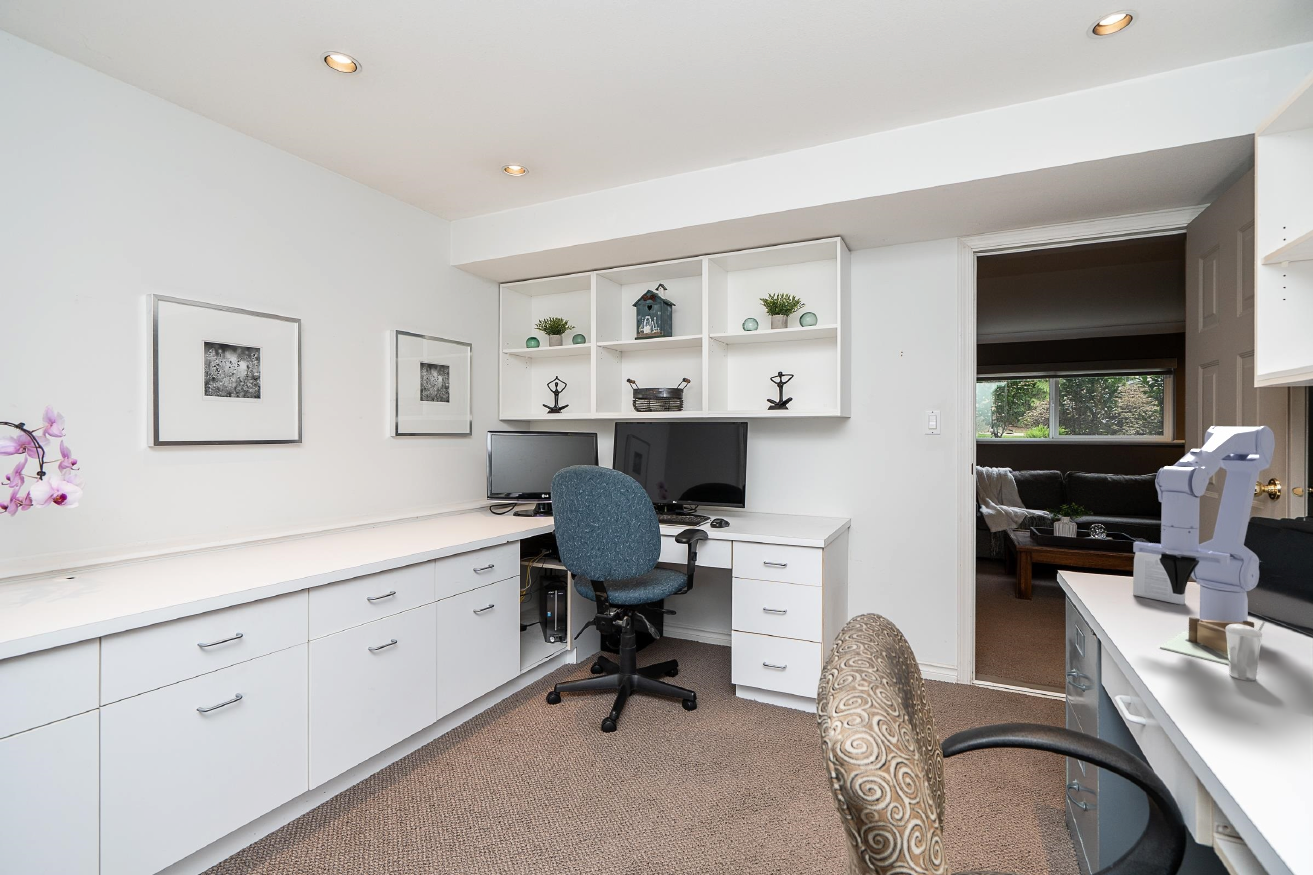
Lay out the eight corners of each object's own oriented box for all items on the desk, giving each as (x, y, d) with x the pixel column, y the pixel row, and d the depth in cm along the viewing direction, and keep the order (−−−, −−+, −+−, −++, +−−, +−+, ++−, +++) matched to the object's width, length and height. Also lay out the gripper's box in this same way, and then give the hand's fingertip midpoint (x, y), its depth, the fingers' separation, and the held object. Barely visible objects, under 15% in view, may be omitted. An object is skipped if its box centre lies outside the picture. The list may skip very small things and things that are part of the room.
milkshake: (1274, 684, 100) (1275, 625, 100) (1237, 681, 101) (1238, 623, 101) (1253, 673, 105) (1254, 617, 105) (1217, 670, 106) (1218, 615, 106)
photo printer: (1187, 602, 146) (1188, 552, 146) (1182, 605, 144) (1183, 555, 143) (1136, 593, 155) (1136, 545, 154) (1130, 595, 152) (1131, 547, 152)
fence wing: (1197, 641, 118) (1197, 621, 118) (1203, 641, 118) (1203, 621, 118) (1238, 657, 110) (1238, 636, 110) (1245, 657, 110) (1245, 636, 110)
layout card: (1184, 632, 125) (1184, 630, 125) (1257, 648, 116) (1257, 646, 116) (1160, 648, 117) (1159, 646, 117) (1236, 666, 108) (1236, 665, 108)
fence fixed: (1186, 641, 120) (1187, 616, 120) (1250, 646, 118) (1250, 620, 117) (1191, 643, 119) (1191, 619, 119) (1255, 649, 116) (1256, 623, 116)
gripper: (1128, 523, 123) (1127, 588, 123) (1223, 533, 111) (1222, 605, 111) (1140, 519, 127) (1139, 583, 127) (1233, 529, 115) (1231, 599, 115)
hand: (1178, 593), depth 120 cm, fingers closed
